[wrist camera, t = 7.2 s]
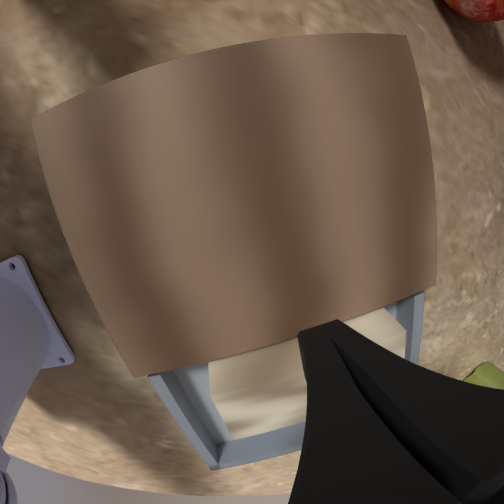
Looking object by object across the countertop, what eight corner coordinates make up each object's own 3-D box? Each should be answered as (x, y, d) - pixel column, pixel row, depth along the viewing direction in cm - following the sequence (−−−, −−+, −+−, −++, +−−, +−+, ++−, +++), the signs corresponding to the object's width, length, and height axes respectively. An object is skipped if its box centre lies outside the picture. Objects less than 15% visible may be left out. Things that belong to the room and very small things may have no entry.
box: (209, 447, 22) (211, 470, 20) (152, 351, 18) (147, 377, 16) (397, 387, 23) (410, 405, 21) (403, 276, 19) (424, 292, 17)
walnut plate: (141, 345, 18) (134, 377, 15) (58, 121, 13) (30, 119, 10) (409, 265, 19) (435, 284, 16) (377, 47, 14) (406, 35, 11)
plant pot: (430, 421, 27) (466, 471, 19) (463, 359, 24) (513, 411, 16) (478, 399, 29) (513, 439, 20) (509, 341, 25) (553, 380, 17)
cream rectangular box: (206, 335, 18) (225, 381, 19) (210, 395, 13) (233, 439, 15) (364, 288, 18) (366, 336, 20) (406, 330, 14) (401, 382, 15)
